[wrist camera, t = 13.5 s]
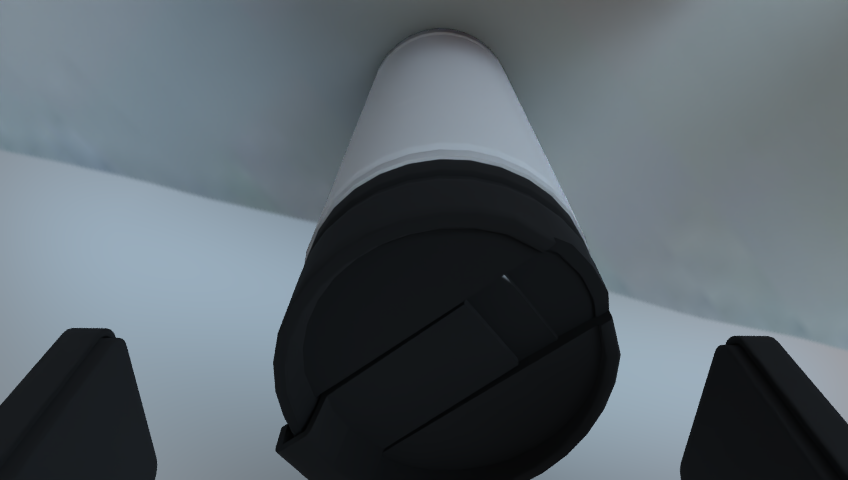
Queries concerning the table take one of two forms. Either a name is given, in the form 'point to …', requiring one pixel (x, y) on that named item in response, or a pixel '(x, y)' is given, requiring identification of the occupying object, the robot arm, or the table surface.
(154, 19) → the table surface
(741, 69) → the table surface
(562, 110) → the table surface
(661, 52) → the table surface
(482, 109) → the travel mug
